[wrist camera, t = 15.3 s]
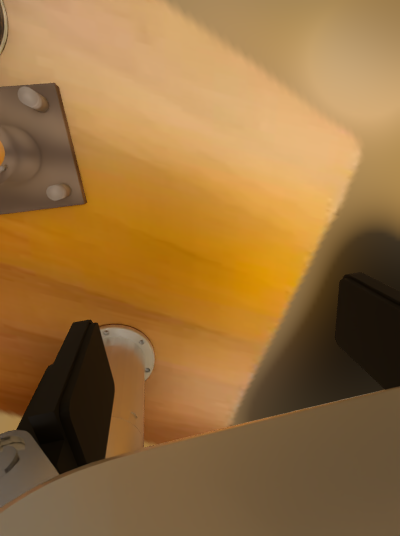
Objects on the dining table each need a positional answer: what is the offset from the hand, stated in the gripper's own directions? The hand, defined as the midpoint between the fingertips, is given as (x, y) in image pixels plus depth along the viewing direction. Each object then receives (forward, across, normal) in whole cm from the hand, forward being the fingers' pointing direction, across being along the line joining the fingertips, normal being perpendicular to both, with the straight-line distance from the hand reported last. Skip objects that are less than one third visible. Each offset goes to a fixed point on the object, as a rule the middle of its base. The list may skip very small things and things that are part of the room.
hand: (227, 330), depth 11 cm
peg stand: (+30, +17, -9) cm, 36 cm away
